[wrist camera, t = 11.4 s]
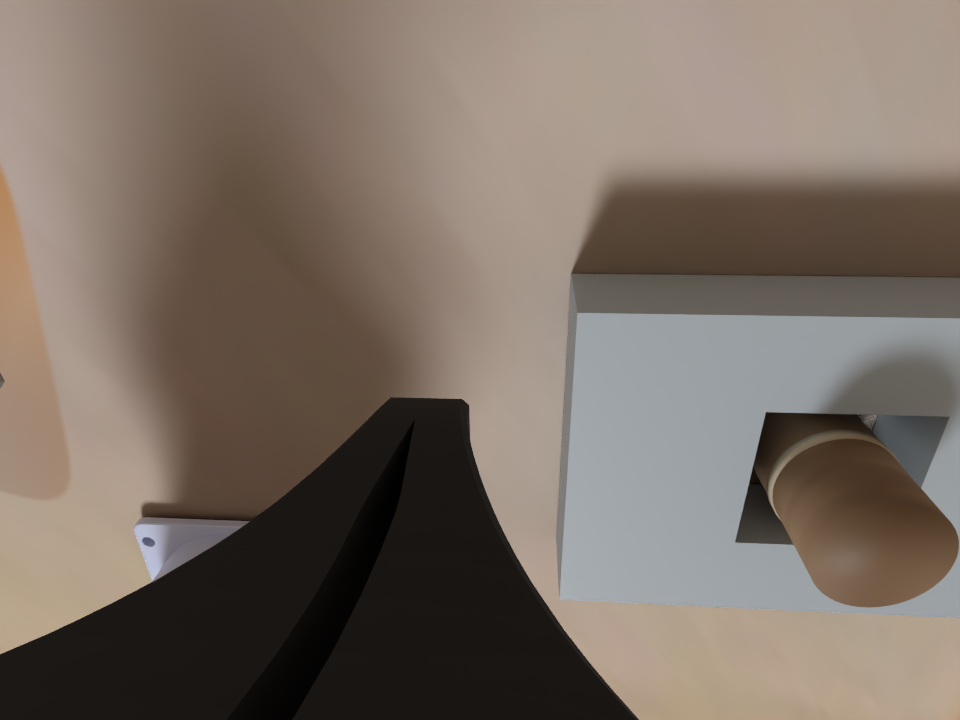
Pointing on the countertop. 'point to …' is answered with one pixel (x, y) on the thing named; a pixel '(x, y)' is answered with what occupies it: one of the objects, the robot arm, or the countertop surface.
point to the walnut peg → (852, 510)
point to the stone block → (1, 381)
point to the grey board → (739, 426)
